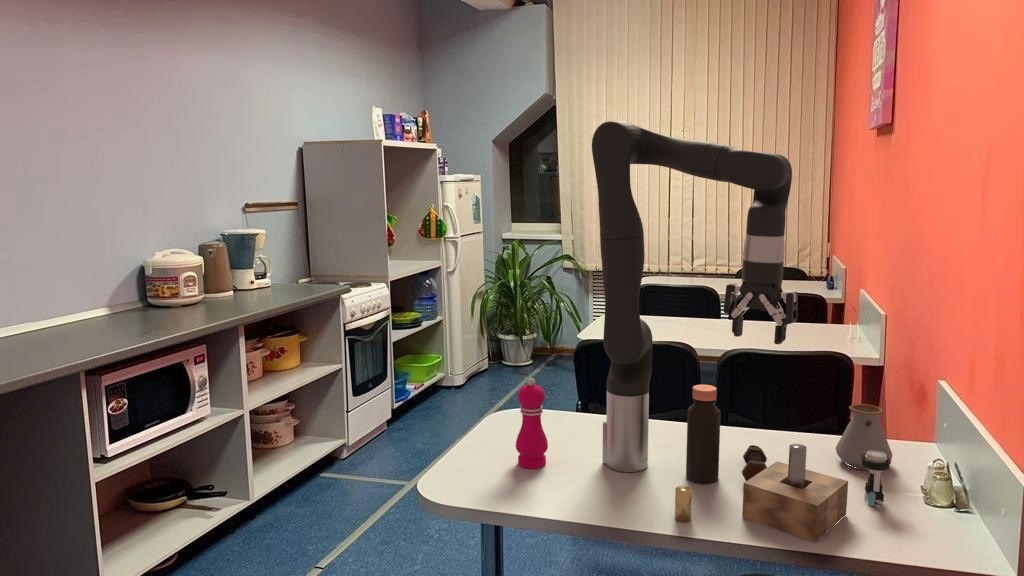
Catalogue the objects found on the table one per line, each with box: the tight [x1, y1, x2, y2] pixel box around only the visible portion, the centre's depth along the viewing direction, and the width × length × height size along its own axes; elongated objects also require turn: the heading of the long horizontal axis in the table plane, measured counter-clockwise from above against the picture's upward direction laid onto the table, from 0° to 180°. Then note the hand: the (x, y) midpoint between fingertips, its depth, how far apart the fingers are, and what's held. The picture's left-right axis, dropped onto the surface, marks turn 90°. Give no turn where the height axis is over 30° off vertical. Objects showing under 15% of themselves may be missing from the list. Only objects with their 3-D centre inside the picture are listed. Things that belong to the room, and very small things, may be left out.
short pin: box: [674, 485, 693, 524], centre depth 142 cm, size 3×3×6 cm
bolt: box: [741, 444, 768, 482], centre depth 163 cm, size 6×5×15 cm
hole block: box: [741, 460, 849, 543], centre depth 142 cm, size 14×14×7 cm
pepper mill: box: [515, 377, 549, 470], centre depth 168 cm, size 7×7×20 cm
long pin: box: [787, 443, 807, 489], centre depth 142 cm, size 3×3×14 cm
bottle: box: [685, 384, 721, 485], centre depth 159 cm, size 7×7×20 cm
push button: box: [861, 450, 892, 510], centre depth 147 cm, size 7×5×10 cm
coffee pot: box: [835, 403, 893, 472], centre depth 161 cm, size 21×12×15 cm, turn 156°
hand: (757, 339), depth 148 cm, fingers open, 8 cm apart
